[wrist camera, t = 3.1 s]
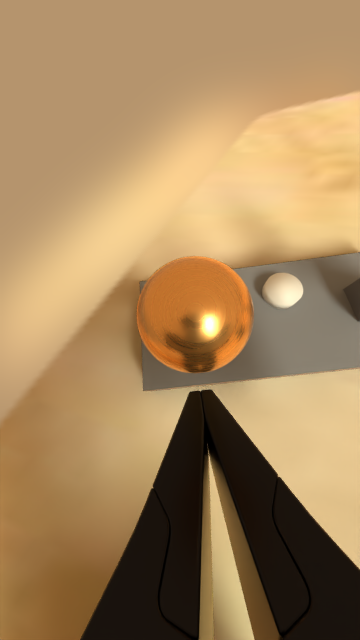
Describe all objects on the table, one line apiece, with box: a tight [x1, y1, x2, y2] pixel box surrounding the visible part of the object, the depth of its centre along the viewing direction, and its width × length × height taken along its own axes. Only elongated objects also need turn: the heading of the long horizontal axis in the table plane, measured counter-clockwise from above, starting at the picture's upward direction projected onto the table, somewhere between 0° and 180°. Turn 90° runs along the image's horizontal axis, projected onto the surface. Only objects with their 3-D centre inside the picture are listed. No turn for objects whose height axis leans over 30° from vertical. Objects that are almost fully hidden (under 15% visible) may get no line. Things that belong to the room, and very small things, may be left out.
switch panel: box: [140, 252, 360, 391], centre depth 13 cm, size 20×8×5 cm, turn 96°
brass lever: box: [137, 256, 254, 373], centre depth 8 cm, size 3×3×10 cm
